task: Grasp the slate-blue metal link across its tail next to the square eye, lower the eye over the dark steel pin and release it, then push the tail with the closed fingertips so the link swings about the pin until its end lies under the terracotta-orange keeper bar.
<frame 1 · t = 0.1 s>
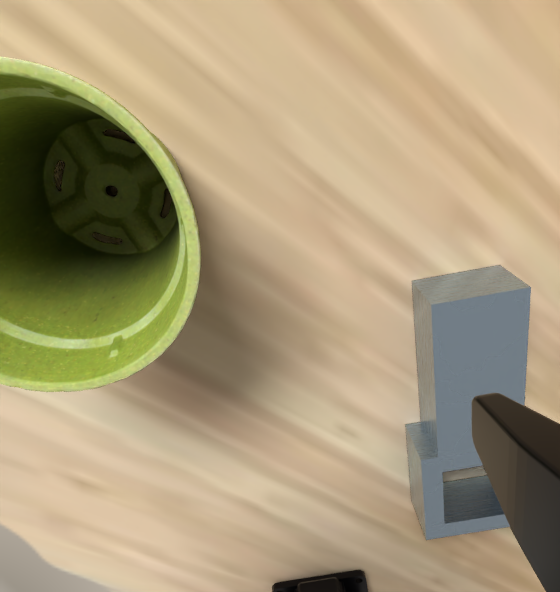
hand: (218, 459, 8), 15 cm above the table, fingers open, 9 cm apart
link: (455, 272, 23), on the table
plant pot: (118, 188, 20), on the table
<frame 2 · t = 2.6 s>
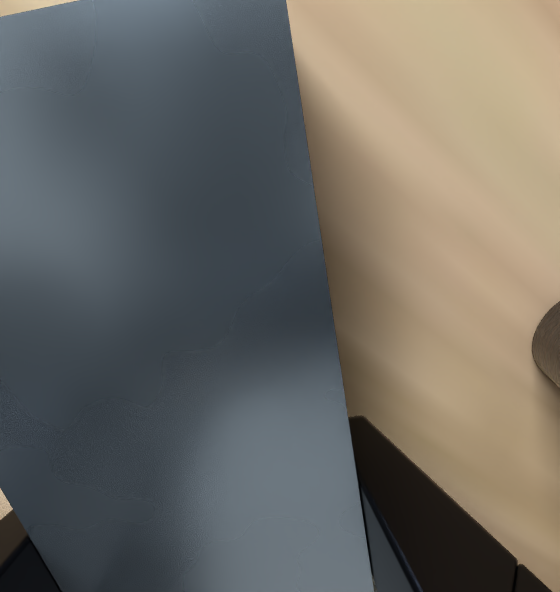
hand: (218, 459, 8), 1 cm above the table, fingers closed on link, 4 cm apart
link: (112, 47, 6), on the table, touching gripper
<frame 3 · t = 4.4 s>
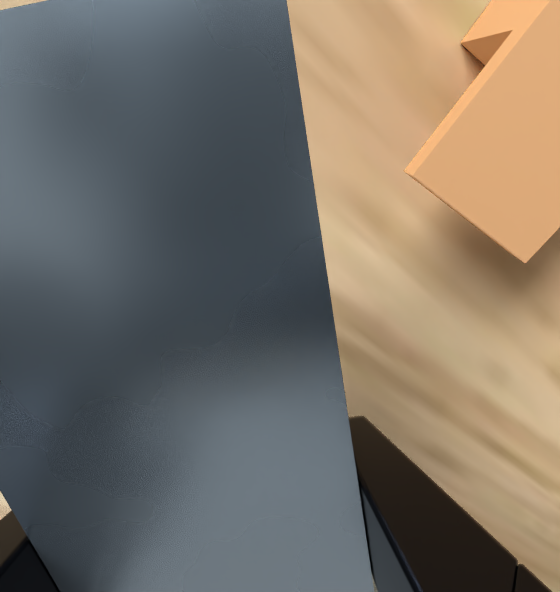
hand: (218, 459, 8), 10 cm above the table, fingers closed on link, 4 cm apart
keeper: (463, 141, 16), on the table
link: (111, 44, 6), point 9 cm above the table, touching gripper
when the fingers open (2 cm above the table, at t = 6.1 s): link drops 1 cm, on the table.
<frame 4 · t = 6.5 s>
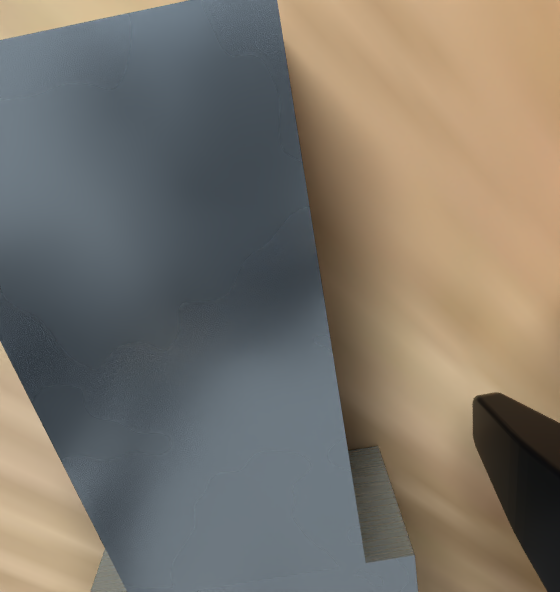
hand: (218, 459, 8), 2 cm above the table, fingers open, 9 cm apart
link: (133, 50, 7), on the table
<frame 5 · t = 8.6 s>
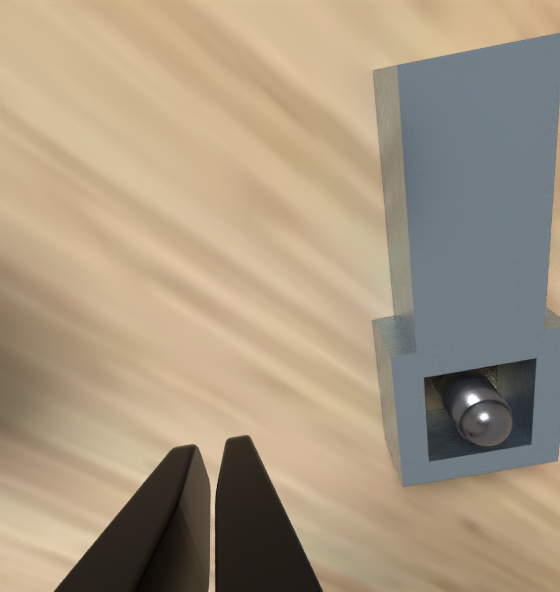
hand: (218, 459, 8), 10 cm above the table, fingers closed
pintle: (450, 371, 19), on the table
link: (441, 56, 14), on the table
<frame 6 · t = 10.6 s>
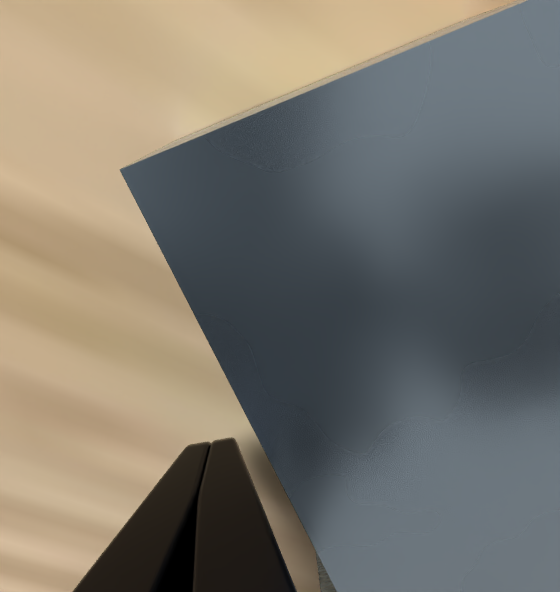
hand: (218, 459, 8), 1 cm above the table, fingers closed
link: (314, 82, 6), on the table, touching gripper
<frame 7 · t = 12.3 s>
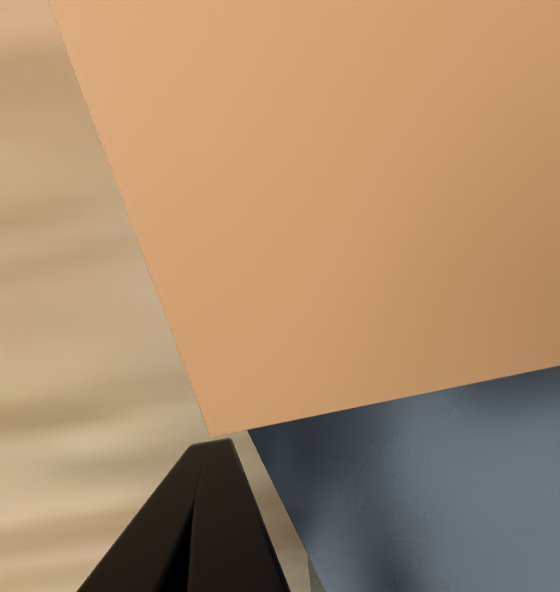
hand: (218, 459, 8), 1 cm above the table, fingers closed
keeper: (348, 94, 6), on the table
link: (318, 86, 6), on the table, touching gripper, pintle
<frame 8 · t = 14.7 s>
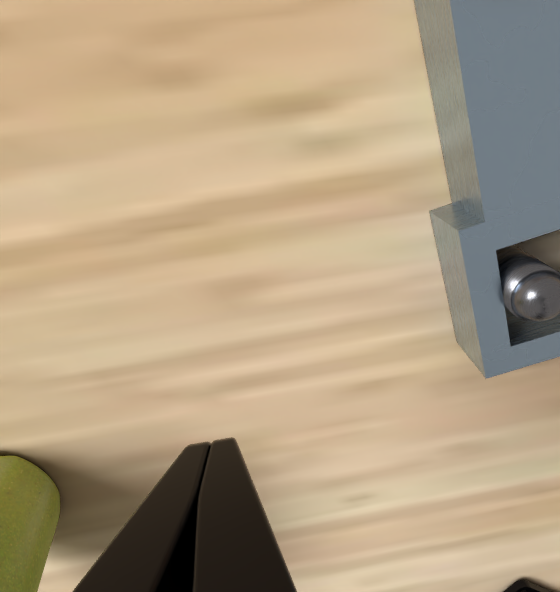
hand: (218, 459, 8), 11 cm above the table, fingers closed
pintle: (494, 263, 19), on the table
plant pot: (2, 491, 23), on the table
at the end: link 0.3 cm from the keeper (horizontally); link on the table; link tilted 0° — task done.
